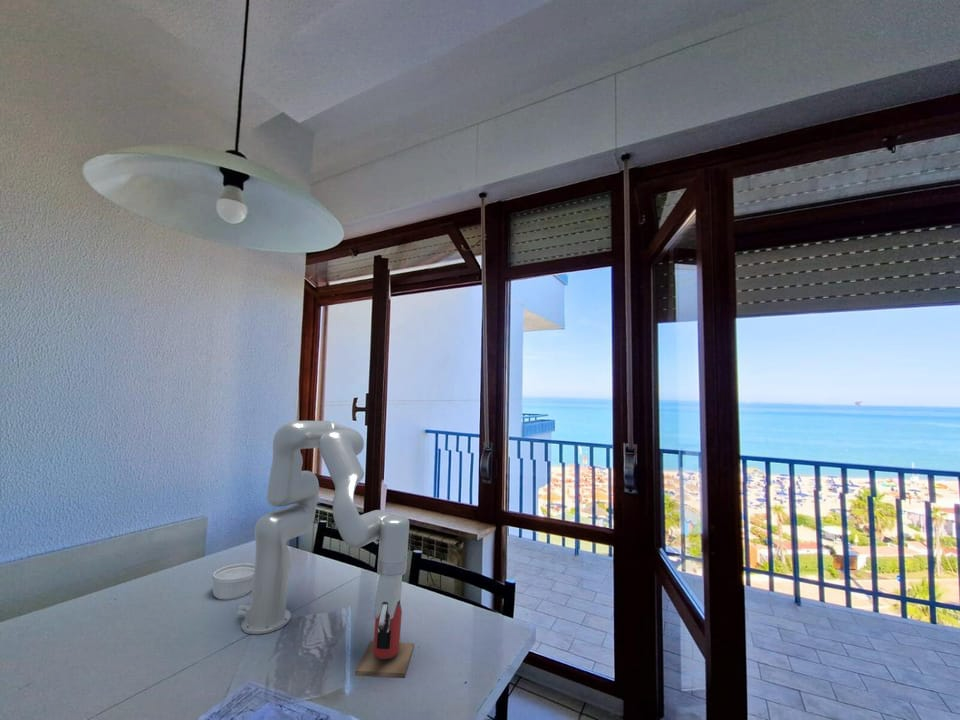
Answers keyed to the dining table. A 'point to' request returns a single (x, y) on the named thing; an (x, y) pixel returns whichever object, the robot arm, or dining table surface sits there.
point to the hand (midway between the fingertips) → (386, 638)
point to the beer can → (395, 635)
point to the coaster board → (385, 662)
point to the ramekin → (233, 581)
